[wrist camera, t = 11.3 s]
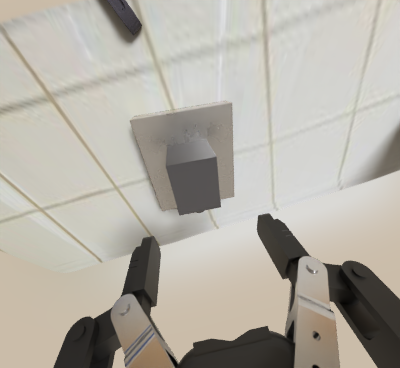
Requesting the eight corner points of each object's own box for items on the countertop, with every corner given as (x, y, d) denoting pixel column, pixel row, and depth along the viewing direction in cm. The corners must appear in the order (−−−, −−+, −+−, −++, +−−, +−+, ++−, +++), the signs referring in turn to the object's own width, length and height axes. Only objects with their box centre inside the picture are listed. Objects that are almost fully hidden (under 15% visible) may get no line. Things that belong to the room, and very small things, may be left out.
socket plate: (225, 100, 21) (232, 102, 18) (228, 186, 29) (234, 196, 26) (134, 116, 20) (129, 120, 18) (163, 199, 28) (162, 211, 26)
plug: (203, 134, 22) (216, 156, 15) (209, 182, 26) (221, 215, 20) (167, 141, 22) (165, 166, 15) (179, 187, 26) (181, 223, 19)
